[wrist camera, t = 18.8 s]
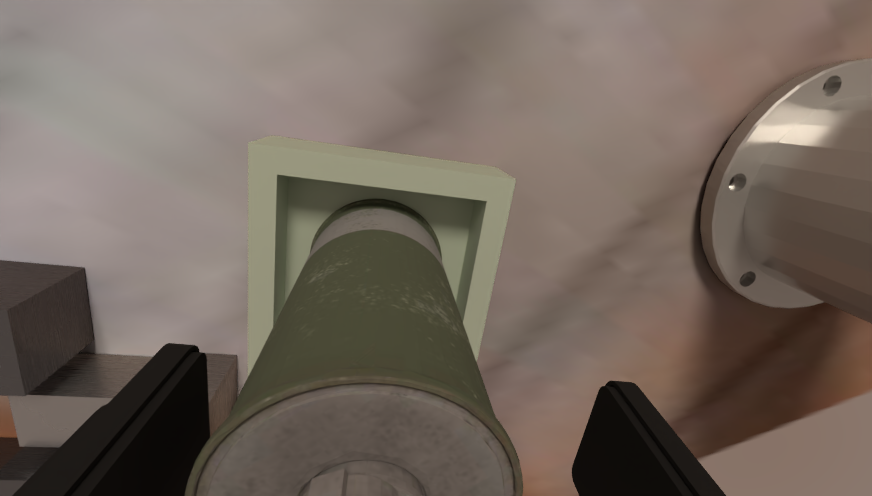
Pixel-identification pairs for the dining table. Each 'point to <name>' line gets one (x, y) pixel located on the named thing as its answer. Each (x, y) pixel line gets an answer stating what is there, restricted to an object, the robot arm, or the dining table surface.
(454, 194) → the tray
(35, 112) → the dining table surface
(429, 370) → the grenade
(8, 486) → the socket
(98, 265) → the dining table surface
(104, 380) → the grey stepped block
